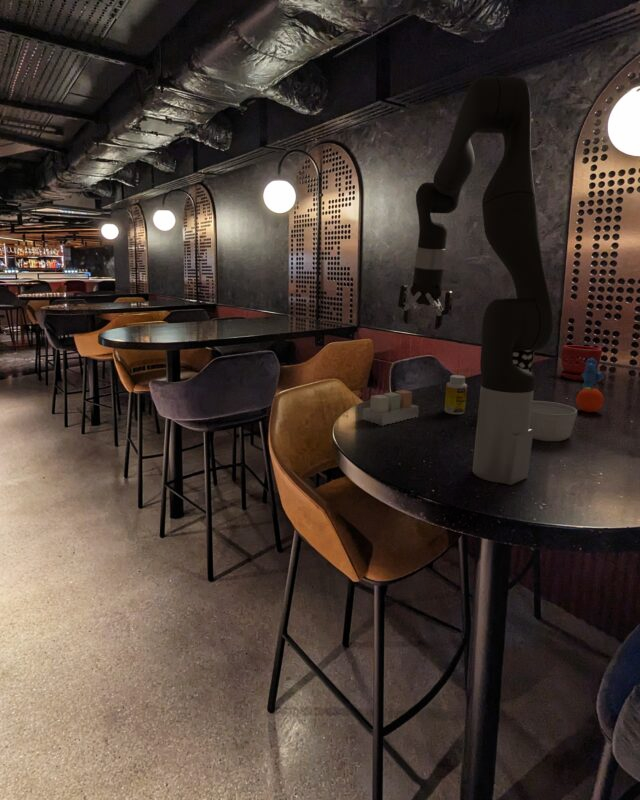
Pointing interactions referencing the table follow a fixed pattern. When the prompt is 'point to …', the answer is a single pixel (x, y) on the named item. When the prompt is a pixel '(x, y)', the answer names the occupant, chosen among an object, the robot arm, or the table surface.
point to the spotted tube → (523, 359)
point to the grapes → (591, 374)
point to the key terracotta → (405, 398)
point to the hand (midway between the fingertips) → (421, 326)
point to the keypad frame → (390, 415)
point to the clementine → (589, 399)
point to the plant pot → (577, 360)
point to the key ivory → (379, 403)
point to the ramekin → (551, 420)
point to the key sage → (393, 400)
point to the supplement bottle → (455, 395)
